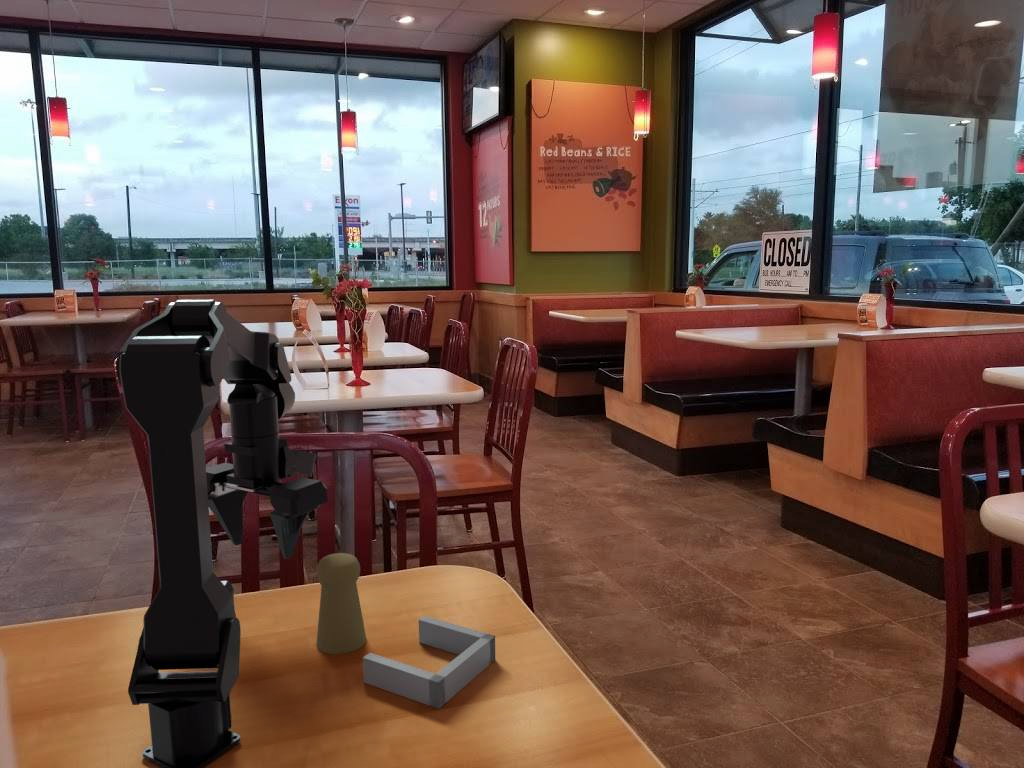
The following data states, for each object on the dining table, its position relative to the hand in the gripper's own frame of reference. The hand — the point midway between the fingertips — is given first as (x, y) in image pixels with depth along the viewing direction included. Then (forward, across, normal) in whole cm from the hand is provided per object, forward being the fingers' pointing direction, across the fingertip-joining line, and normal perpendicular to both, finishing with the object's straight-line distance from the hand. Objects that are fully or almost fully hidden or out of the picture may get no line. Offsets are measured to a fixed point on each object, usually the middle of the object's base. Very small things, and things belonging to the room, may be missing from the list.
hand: (262, 550), depth 100 cm
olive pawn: (+10, -13, 0) cm, 16 cm away
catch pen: (+9, -26, 0) cm, 28 cm away
